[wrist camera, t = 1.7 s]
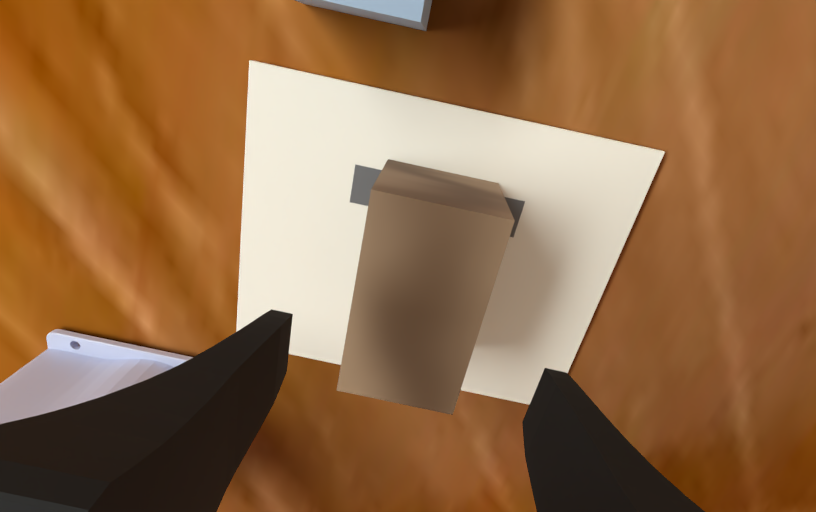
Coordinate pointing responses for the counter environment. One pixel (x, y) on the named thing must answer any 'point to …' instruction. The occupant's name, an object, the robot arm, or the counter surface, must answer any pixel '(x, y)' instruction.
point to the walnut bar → (422, 284)
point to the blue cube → (382, 10)
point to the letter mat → (446, 151)
